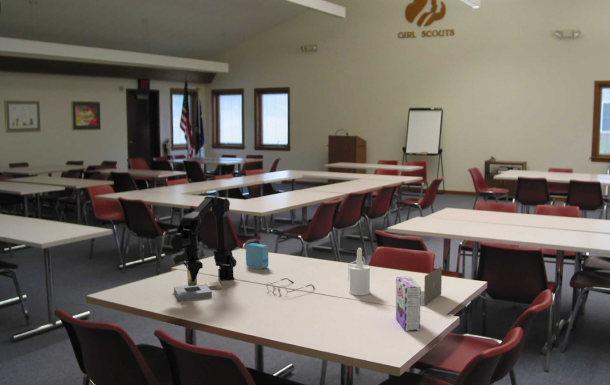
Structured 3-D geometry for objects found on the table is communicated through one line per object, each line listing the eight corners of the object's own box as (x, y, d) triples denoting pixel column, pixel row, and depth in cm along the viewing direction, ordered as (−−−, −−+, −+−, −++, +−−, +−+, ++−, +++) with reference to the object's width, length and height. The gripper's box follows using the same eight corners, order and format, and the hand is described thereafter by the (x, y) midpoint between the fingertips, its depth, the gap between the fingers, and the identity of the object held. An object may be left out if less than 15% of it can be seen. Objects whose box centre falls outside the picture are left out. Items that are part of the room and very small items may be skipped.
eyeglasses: (262, 291, 252) (262, 281, 252) (291, 283, 266) (291, 272, 265) (288, 299, 242) (288, 287, 241) (317, 289, 255) (317, 278, 255)
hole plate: (205, 288, 257) (205, 282, 257) (211, 297, 244) (211, 291, 244) (174, 292, 252) (173, 286, 252) (179, 301, 239) (178, 294, 239)
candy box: (395, 318, 215) (395, 276, 213) (410, 317, 215) (410, 275, 213) (404, 331, 201) (405, 286, 199) (420, 331, 202) (421, 286, 200)
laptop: (414, 291, 251) (414, 262, 249) (441, 296, 243) (442, 266, 242) (396, 302, 236) (397, 271, 234) (425, 307, 229) (425, 276, 227)
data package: (268, 268, 293) (268, 245, 291) (262, 269, 289) (262, 246, 288) (251, 264, 300) (251, 242, 299) (245, 266, 297) (245, 243, 295)
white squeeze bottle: (374, 292, 249) (374, 247, 246) (361, 297, 242) (361, 251, 239) (355, 287, 256) (355, 244, 253) (342, 292, 249) (342, 247, 247)
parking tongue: (218, 284, 263) (218, 281, 263) (221, 287, 258) (221, 284, 257) (205, 286, 261) (205, 282, 261) (208, 289, 255) (208, 286, 255)
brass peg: (196, 283, 250) (195, 265, 249) (197, 285, 246) (197, 267, 245) (187, 284, 249) (186, 266, 248) (188, 286, 245) (187, 268, 244)
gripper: (169, 242, 251) (170, 277, 253) (175, 251, 234) (176, 288, 236) (194, 240, 255) (195, 274, 257) (202, 249, 238) (203, 285, 240)
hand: (192, 280), depth 247 cm, fingers closed on brass peg, 4 cm apart
